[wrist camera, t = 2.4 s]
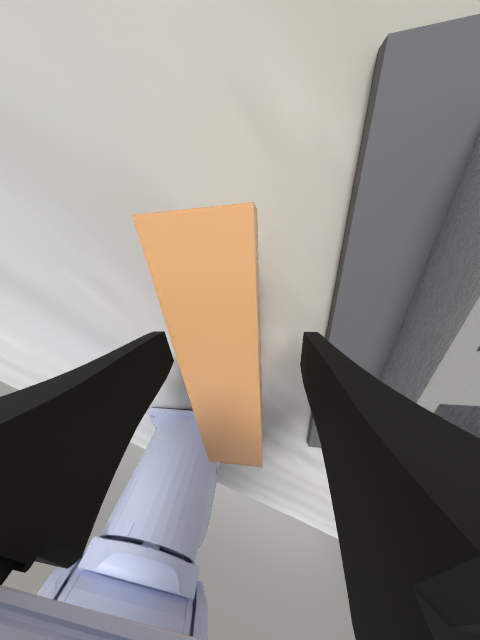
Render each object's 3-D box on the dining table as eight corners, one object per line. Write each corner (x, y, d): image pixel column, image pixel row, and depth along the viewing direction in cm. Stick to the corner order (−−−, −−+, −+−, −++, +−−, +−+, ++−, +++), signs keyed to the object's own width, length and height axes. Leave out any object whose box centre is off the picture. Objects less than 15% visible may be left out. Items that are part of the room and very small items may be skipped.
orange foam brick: (263, 376, 15) (262, 467, 10) (229, 375, 16) (208, 461, 10) (260, 215, 10) (253, 202, 4) (207, 220, 10) (132, 214, 4)
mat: (461, 454, 17) (468, 461, 16) (307, 440, 19) (308, 446, 18) (976, -76, 5) (1070, -116, 4) (378, 49, 7) (388, 33, 6)
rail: (427, 445, 16) (459, 489, 13) (354, 439, 17) (371, 478, 14) (721, 61, 6) (1130, -86, 3) (492, 97, 6) (649, 10, 4)
